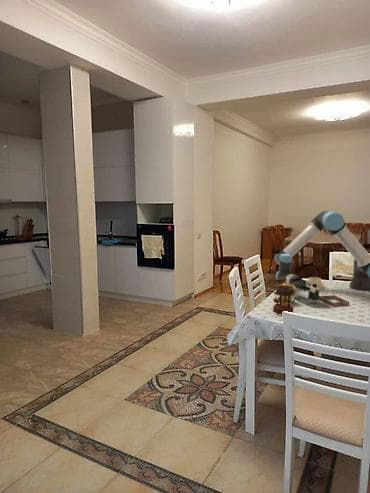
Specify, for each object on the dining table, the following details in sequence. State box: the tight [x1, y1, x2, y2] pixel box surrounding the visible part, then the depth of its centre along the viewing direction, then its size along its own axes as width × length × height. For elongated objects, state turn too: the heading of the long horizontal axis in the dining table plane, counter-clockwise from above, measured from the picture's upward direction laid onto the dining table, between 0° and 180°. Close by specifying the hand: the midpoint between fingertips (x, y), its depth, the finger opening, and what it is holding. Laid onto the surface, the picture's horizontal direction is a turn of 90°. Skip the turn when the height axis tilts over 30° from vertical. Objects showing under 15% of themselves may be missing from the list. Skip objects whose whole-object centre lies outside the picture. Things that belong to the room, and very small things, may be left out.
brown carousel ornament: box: [277, 283, 297, 305], centre depth 207 cm, size 10×10×10 cm
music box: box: [272, 277, 301, 316], centre depth 187 cm, size 15×11×20 cm
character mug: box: [305, 276, 325, 301], centre depth 204 cm, size 11×7×13 cm, turn 42°
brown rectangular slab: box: [318, 294, 350, 307], centre depth 208 cm, size 11×15×2 cm
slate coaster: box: [299, 298, 329, 308], centre depth 206 cm, size 10×14×1 cm
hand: (320, 289), depth 200 cm, fingers closed on character mug, 7 cm apart
